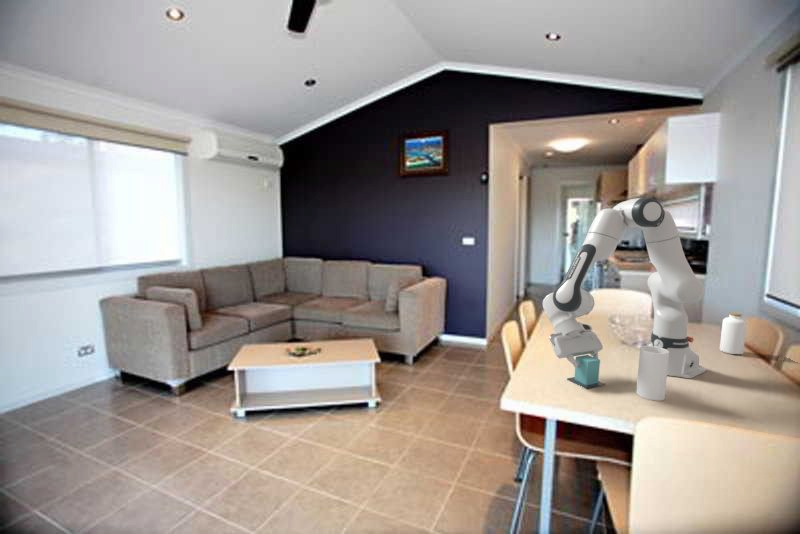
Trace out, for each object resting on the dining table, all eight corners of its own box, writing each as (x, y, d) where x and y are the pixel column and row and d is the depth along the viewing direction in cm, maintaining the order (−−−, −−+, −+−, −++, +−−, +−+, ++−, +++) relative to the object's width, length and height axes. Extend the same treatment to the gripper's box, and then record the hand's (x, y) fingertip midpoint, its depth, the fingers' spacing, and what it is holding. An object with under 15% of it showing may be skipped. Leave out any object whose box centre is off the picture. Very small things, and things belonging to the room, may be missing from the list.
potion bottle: (723, 354, 181) (727, 314, 179) (716, 348, 189) (720, 310, 187) (746, 356, 178) (751, 316, 176) (738, 351, 186) (743, 312, 184)
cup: (669, 401, 133) (673, 354, 131) (641, 399, 135) (645, 352, 133) (658, 391, 141) (662, 346, 139) (632, 389, 143) (636, 344, 141)
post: (585, 376, 154) (586, 357, 153) (605, 385, 146) (606, 365, 145) (567, 379, 151) (568, 360, 150) (586, 389, 142) (587, 369, 141)
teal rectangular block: (585, 377, 152) (587, 354, 151) (598, 382, 146) (599, 359, 145) (574, 379, 150) (575, 356, 148) (586, 385, 144) (588, 361, 143)
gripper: (552, 330, 148) (571, 365, 141) (594, 325, 156) (614, 358, 148) (542, 338, 153) (560, 373, 145) (583, 333, 161) (602, 365, 153)
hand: (588, 365), depth 147 cm, fingers open, 8 cm apart
